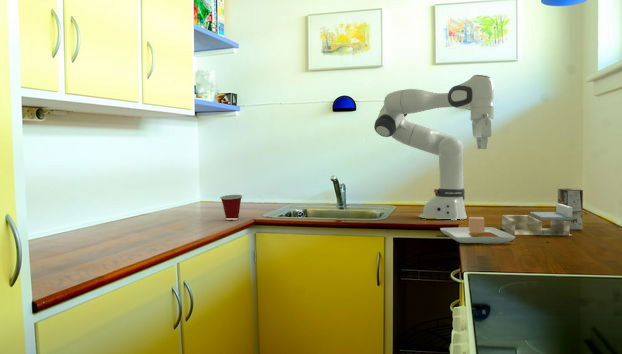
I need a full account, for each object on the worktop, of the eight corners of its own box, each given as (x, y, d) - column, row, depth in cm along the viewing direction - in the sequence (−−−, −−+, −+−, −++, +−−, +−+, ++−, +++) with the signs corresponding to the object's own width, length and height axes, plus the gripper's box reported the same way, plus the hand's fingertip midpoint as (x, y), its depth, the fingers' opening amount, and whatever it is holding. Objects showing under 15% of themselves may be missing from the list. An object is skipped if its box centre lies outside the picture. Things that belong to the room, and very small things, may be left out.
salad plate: (492, 234, 189) (492, 226, 189) (516, 245, 168) (516, 236, 168) (438, 235, 189) (438, 227, 188) (456, 247, 167) (456, 237, 167)
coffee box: (583, 229, 194) (583, 190, 193) (567, 229, 195) (567, 190, 194) (571, 226, 204) (572, 188, 203) (556, 226, 204) (556, 188, 203)
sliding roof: (541, 219, 179) (541, 207, 179) (530, 214, 193) (530, 203, 193) (573, 220, 177) (573, 207, 177) (559, 214, 191) (559, 203, 191)
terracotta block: (469, 232, 176) (469, 218, 176) (468, 230, 181) (468, 216, 181) (484, 232, 175) (484, 218, 175) (482, 230, 180) (482, 217, 180)
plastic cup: (216, 220, 235) (215, 196, 234) (229, 217, 244) (229, 194, 244) (234, 222, 230) (233, 197, 229) (247, 219, 239) (246, 195, 238)
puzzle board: (510, 237, 181) (510, 220, 181) (501, 230, 195) (501, 215, 195) (572, 237, 178) (572, 220, 177) (558, 231, 192) (558, 215, 191)
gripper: (495, 113, 185) (495, 148, 186) (485, 116, 206) (485, 148, 206) (478, 113, 186) (478, 149, 187) (469, 116, 207) (469, 149, 207)
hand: (481, 149), depth 197 cm, fingers open, 8 cm apart
